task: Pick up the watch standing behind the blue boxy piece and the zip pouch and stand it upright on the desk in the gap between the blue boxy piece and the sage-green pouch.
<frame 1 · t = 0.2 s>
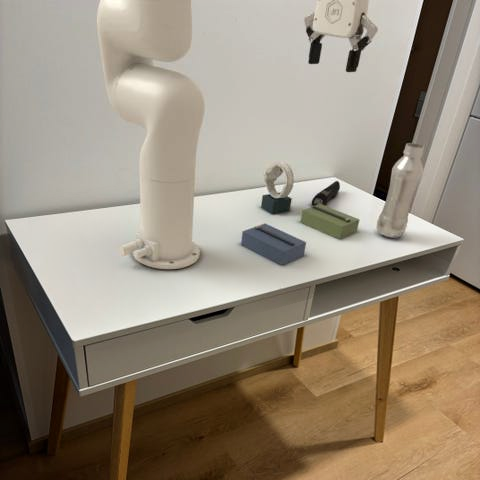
hand: (331, 67, 104), 31 cm above the table, tool pointing down, fingers open, 9 cm apart
blue boxy piece: (272, 250, 99), on the table
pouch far: (328, 226, 112), on the table
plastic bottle: (388, 235, 112), on the table
watch: (274, 209, 118), on the table
electric trimmer: (325, 199, 127), on the table
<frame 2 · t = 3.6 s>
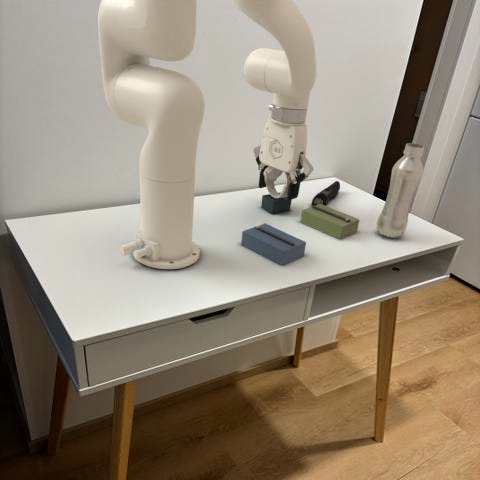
hand: (277, 192, 115), 4 cm above the table, tool pointing down, fingers closed on watch, 8 cm apart
watch: (274, 209, 118), on the table, touching gripper
everything else where it was.
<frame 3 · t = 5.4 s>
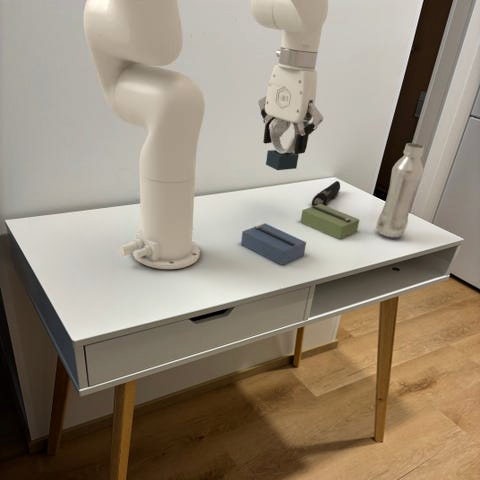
hand: (283, 147, 108), 15 cm above the table, tool pointing down, fingers closed on watch, 8 cm apart
watch: (280, 167, 111), point 10 cm above the table, touching gripper
everything else where it was.
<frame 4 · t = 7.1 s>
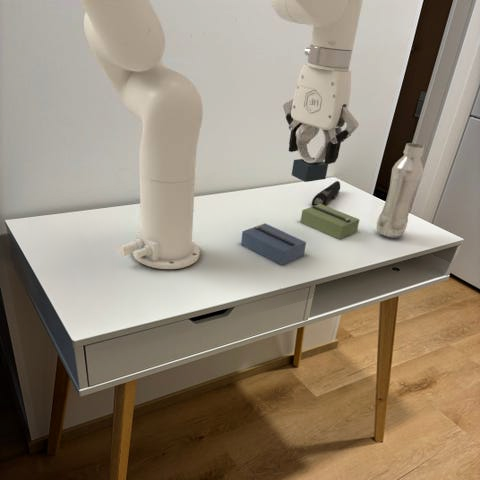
hand: (311, 156, 97), 17 cm above the table, tool pointing down, fingers closed on watch, 8 cm apart
watch: (307, 177, 100), point 13 cm above the table, touching gripper
everything else where it was.
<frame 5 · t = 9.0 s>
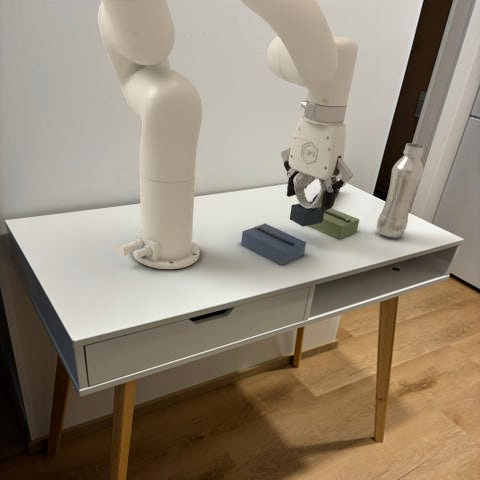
hand: (308, 201, 101), 8 cm above the table, tool pointing down, fingers closed on watch, 8 cm apart
watch: (305, 221, 103), point 4 cm above the table, touching gripper
everything else where it was.
when the fingers open (4 cm above the table, at t = 10.7 s): watch stays where it is, on the table.
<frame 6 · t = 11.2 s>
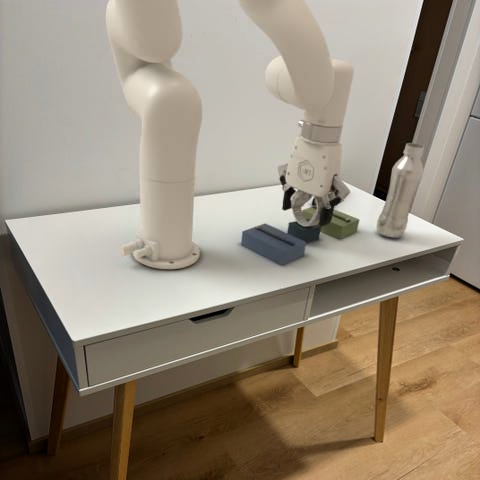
hand: (305, 216, 103), 5 cm above the table, tool pointing down, fingers open, 9 cm apart
watch: (302, 238, 106), on the table
everything else where it was.
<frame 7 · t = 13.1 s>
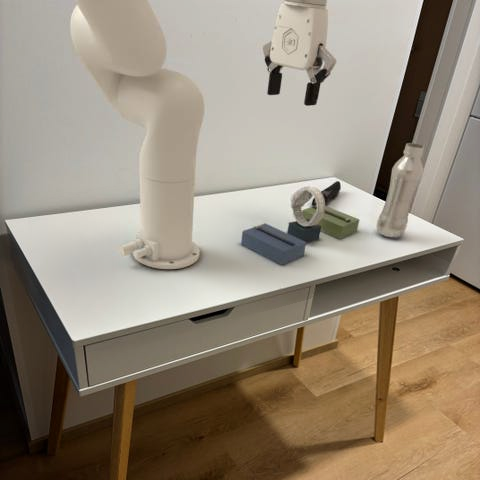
hand: (291, 99, 97), 26 cm above the table, tool pointing down, fingers open, 9 cm apart
nothing on the table moved.
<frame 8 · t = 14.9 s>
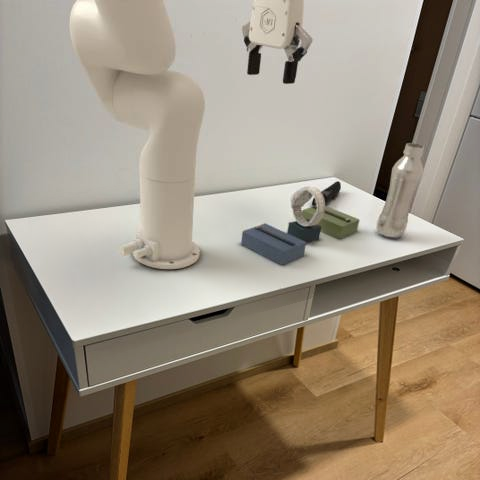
hand: (270, 78, 101), 28 cm above the table, tool pointing down, fingers open, 9 cm apart
nothing on the table moved.
at the end: watch inside the target area on the table beside the blue boxy piece (0.1 cm from its centre), on the table; watch 9.9 cm from the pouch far (horizontally); watch tilted 0° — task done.
